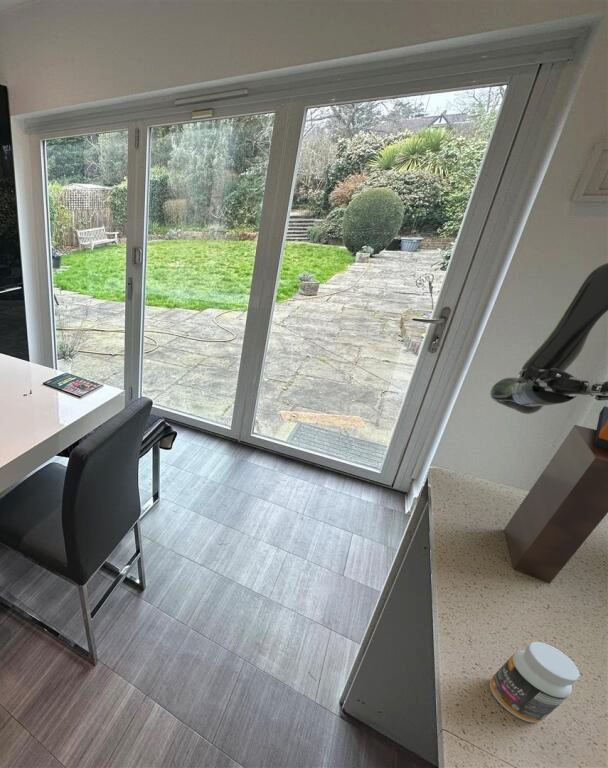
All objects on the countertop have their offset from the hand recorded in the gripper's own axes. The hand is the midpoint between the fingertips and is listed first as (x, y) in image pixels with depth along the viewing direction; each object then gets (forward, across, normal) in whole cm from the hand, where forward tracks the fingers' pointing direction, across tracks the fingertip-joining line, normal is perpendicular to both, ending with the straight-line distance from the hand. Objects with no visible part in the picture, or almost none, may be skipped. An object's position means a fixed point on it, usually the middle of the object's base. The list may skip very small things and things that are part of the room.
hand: (584, 379), depth 80 cm
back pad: (+10, +2, +11) cm, 15 cm away
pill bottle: (+33, -6, +54) cm, 63 cm away
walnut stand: (+3, 0, +36) cm, 36 cm away
